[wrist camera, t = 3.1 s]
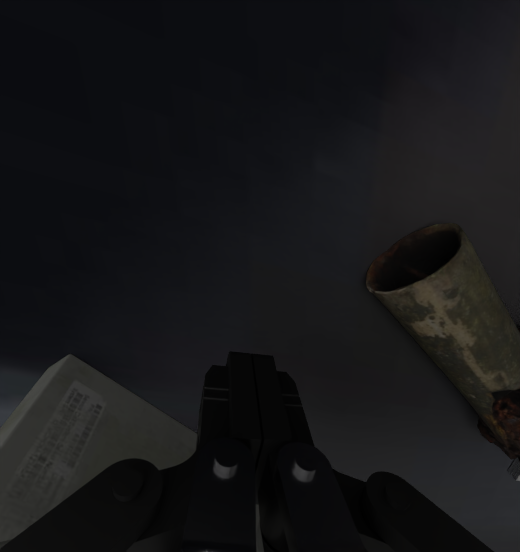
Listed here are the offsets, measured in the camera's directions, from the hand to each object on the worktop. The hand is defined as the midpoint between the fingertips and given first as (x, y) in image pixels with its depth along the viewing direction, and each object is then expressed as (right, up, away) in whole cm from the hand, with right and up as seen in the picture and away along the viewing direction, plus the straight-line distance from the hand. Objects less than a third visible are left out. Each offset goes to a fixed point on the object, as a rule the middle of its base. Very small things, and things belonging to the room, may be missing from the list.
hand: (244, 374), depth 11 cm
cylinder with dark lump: (+14, 0, +9) cm, 16 cm away
